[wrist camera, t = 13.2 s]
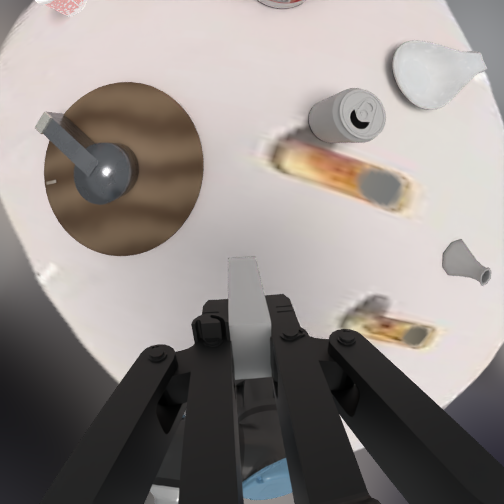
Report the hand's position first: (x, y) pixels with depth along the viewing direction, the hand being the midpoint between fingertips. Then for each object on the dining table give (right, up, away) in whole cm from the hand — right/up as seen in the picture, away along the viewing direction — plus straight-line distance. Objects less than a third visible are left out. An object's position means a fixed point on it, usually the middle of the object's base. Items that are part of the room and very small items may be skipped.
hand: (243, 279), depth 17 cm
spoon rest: (+32, +33, +19) cm, 50 cm away
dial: (-22, +16, +19) cm, 33 cm away
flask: (+40, +1, +31) cm, 51 cm away
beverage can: (+11, +20, +22) cm, 32 cm away
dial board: (-19, +13, +22) cm, 32 cm away
